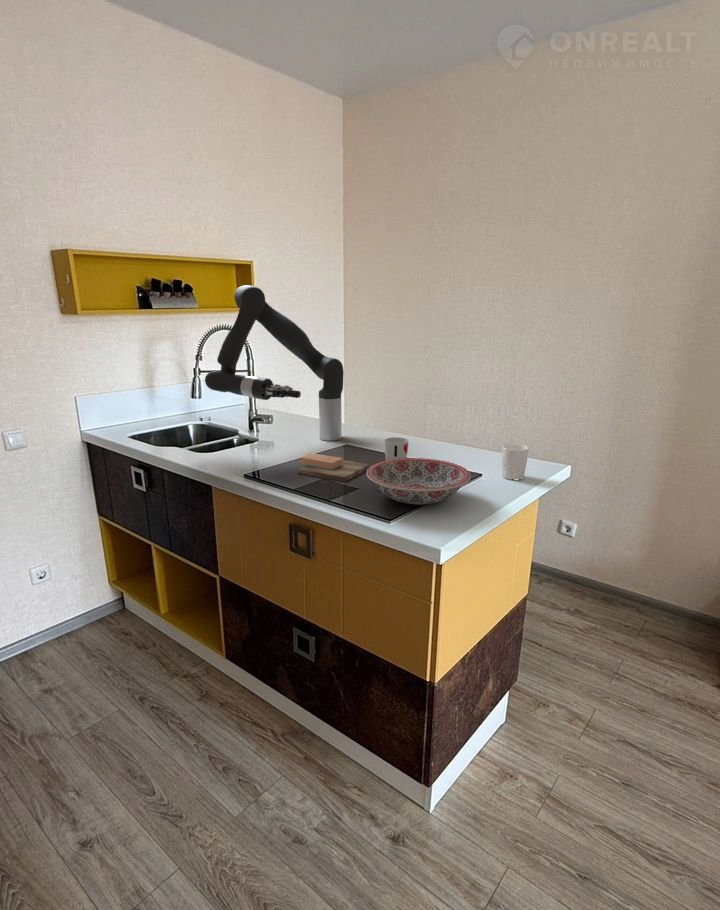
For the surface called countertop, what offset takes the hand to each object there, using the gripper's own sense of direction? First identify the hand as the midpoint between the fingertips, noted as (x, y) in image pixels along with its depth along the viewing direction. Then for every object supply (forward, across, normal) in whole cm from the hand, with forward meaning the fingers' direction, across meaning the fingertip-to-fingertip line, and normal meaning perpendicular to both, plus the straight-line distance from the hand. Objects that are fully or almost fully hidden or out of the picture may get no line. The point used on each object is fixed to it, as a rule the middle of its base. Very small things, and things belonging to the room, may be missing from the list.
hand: (299, 394), depth 177 cm
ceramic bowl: (+50, -16, +21) cm, 57 cm away
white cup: (+72, +15, +19) cm, 76 cm away
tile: (+5, -2, +21) cm, 22 cm away
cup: (+34, +8, +22) cm, 41 cm away
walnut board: (+16, -3, +23) cm, 28 cm away
